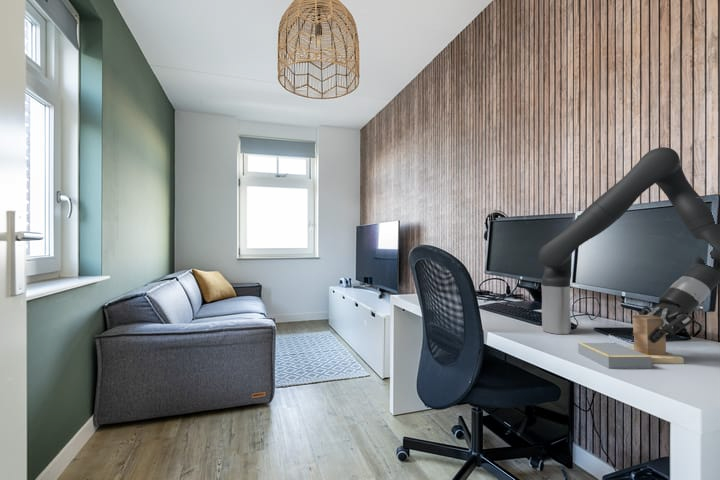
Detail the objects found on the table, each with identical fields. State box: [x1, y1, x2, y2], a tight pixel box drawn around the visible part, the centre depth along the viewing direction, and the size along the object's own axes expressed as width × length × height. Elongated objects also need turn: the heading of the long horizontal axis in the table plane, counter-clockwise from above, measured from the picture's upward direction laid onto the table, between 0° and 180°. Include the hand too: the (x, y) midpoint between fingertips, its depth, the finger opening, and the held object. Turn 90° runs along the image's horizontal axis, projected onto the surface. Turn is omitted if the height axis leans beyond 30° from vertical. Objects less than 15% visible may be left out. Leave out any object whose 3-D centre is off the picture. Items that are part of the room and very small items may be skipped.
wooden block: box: [632, 314, 667, 355], centre depth 98 cm, size 5×5×10 cm
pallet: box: [626, 346, 685, 365], centre depth 97 cm, size 10×10×2 cm
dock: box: [577, 342, 652, 369], centre depth 96 cm, size 13×11×3 cm
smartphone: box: [608, 333, 634, 347], centre depth 113 cm, size 7×1×15 cm
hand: (642, 337), depth 98 cm, fingers closed on wooden block, 5 cm apart
